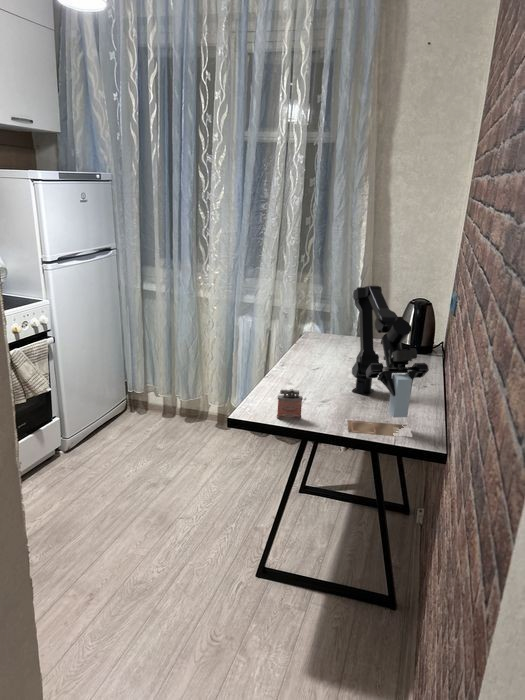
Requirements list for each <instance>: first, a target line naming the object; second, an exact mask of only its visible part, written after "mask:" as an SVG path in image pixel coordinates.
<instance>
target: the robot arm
mask: <svg viewBox="0 0 525 700" xmlns="http://www.w3.org/2000/svg"><path fill="white" fill-rule="evenodd" d="M382 291H383V290H382V286H379V285H366V286H364V287H363V286H361V287H360V286H358V287H357V288H356V289H354V291H353V293H352V298H353V301H354V305H355V307H356V308H357V310H358V312H359V340H360V341H359V342H360V346H359V347H360V348H359V349H360V350H359V353H358V355H356V357H355V358H356V360H355V361H356V362H355V363H354V365H353V366H352V367H351V374H352V376H353V377H354V378H355V381H356V382H355V388H353V389H352V390H351V392H353V393H357V394H360V395H364V396H369V395H370V394H372V393H373V392H374V391H375V389H374V388H372V384H373V379H377V381H380V382H381V383H382V384H383V385H384V386H385V387H386V389H387V390H388V391H389V394H390V393H391V394H392V395H393V396H395V389H394V385H393V381H392V376H393V374H407V375H408V376H409V377H410V378H411V379H412V385H411V390H412V387H413V382H414V379H416V378H417V379H421V378H424V376H425V375H426V374H427V373H428V372H429V371H430V370H429V366H428V363H426V362H415V363H413V365H412V366H408V365H409V362H413V360H414V359H415V360H416V359H417V357H418V351H417V349H416V348H414V347H410V348H408V349H407V350H405V349H404V348H403V347H402V343H403V342H404V341H405V340H406V338H407V337H408V336H409V334H410V333H412V325H411V324H410V323H409V322H408V321H407V320H405V319H404V317H403V316H398V315H397V313H396V312H394V311H393V310H391V309H390V307H389V304H387V301H386V299H385V297H384V295H383V293H382ZM373 312H374V315H375V321H374V319H373ZM373 321H374V322H373ZM373 323H374V324H373ZM373 325H374V326H373ZM374 328H375V330H376V332H378V333H379V334H384V335H383V336H382V337H381V340H380V344H381V345H382V350H383V354H384V355H383V361H385V365H386V366H384V363H381V362H380V359H379V358H380V356H379V354H378V353H376V351H375V350H374ZM406 365H407V366H406ZM411 394H412V392H411V393H410V396H411Z"/></svg>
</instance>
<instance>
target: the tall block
mask: <svg viewBox="0 0 525 700" xmlns="http://www.w3.org/2000/svg"><path fill="white" fill-rule="evenodd" d="M392 381H393V385H394V389H395V396H393V395H392V394H391V393H390V392H389V403H388V410H387V411H388V414H390V416H391V417H392V418H408V414H409V408H410V407H409V406H410V398H411V395H410V393H411V394H412V389H411V385H412V386H413V383H412V379H411V378H410V377H409V376H408V375H407V374H405V373H392Z"/></svg>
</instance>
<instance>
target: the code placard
mask: <svg viewBox="0 0 525 700" xmlns="http://www.w3.org/2000/svg"><path fill="white" fill-rule="evenodd" d="M346 421H347V432H348V433H353V434H365V435H377V436H378V435H379V436H389V437H395V436H394V435H393V433H398V432H396V431H399V430H398V429H401V428H404V427H403V426H407V425H408V424H400V423H397V424H396V423H388V422H387V423H386V422H376V421H374V422H373V421H364V420H363V421H361V420H352V419H351V420H349V419H347V420H346ZM402 425H403V426H402Z"/></svg>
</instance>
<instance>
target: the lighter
mask: <svg viewBox="0 0 525 700" xmlns="http://www.w3.org/2000/svg"><path fill="white" fill-rule="evenodd" d="M279 391H280V392H279V395H278V396H277V414H276V419H277V420H279V421H300V420H302V405H303V396H302V395H300V390H297V389H296V390H294V389H293V388H290V389H280V390H279Z"/></svg>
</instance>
